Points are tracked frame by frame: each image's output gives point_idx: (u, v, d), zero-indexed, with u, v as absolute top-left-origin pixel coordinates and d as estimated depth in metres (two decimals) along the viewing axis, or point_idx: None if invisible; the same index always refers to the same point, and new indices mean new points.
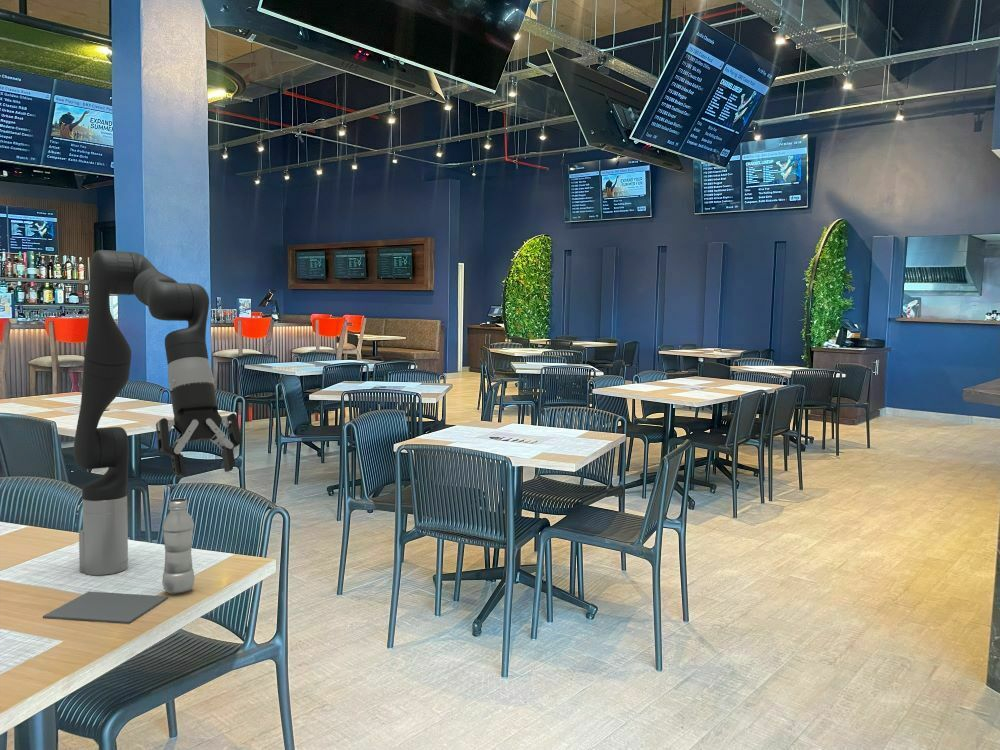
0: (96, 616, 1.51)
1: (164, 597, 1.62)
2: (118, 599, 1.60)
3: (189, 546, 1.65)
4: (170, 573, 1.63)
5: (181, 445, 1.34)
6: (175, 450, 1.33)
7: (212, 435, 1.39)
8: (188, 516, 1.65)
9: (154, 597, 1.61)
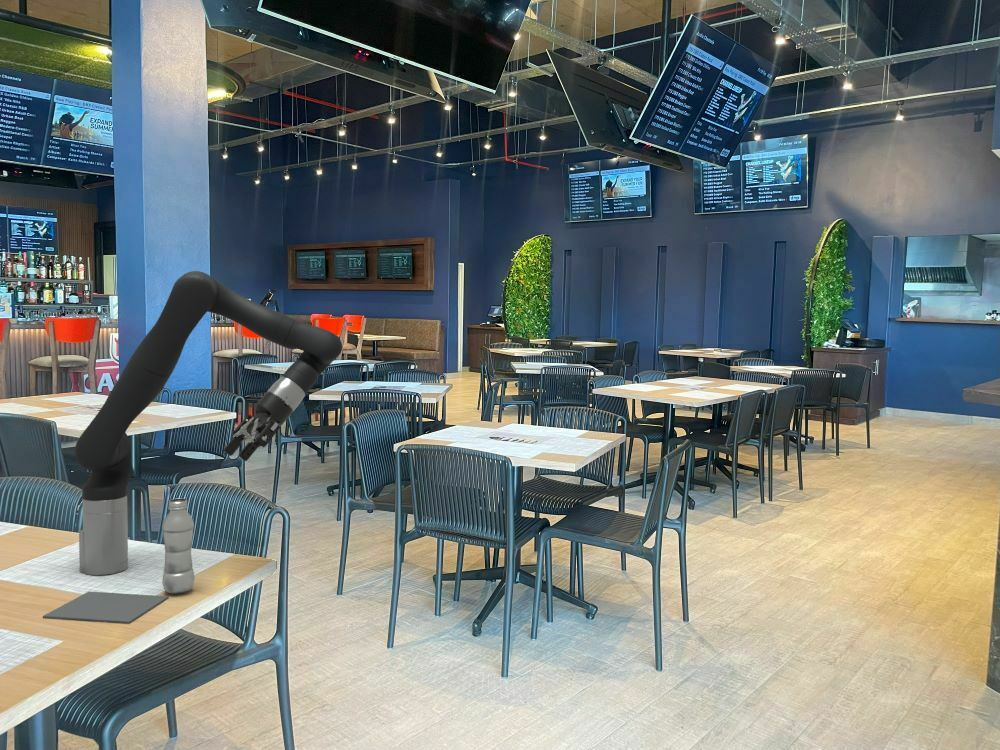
0: (96, 616, 1.51)
1: (164, 597, 1.62)
2: (118, 599, 1.60)
3: (189, 546, 1.65)
4: (170, 573, 1.63)
5: None
6: (260, 446, 1.71)
7: None
8: (188, 516, 1.65)
9: (154, 597, 1.61)
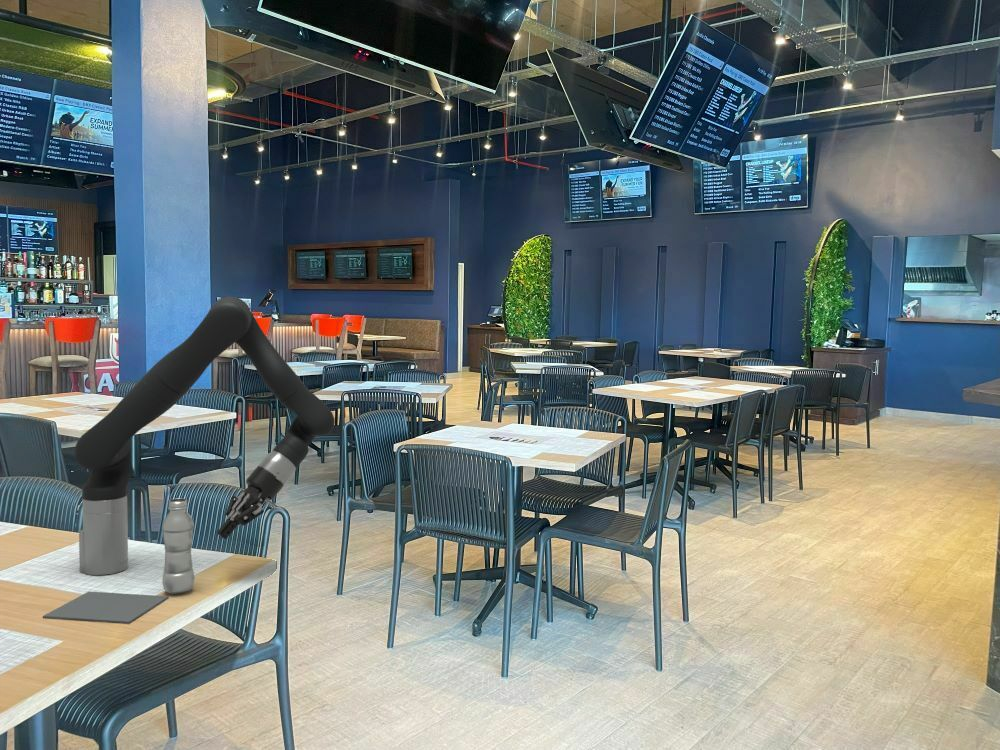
0: (96, 616, 1.51)
1: (164, 597, 1.62)
2: (118, 599, 1.60)
3: (189, 546, 1.65)
4: (170, 573, 1.63)
5: None
6: (240, 524, 1.74)
7: None
8: (188, 516, 1.65)
9: (154, 597, 1.61)
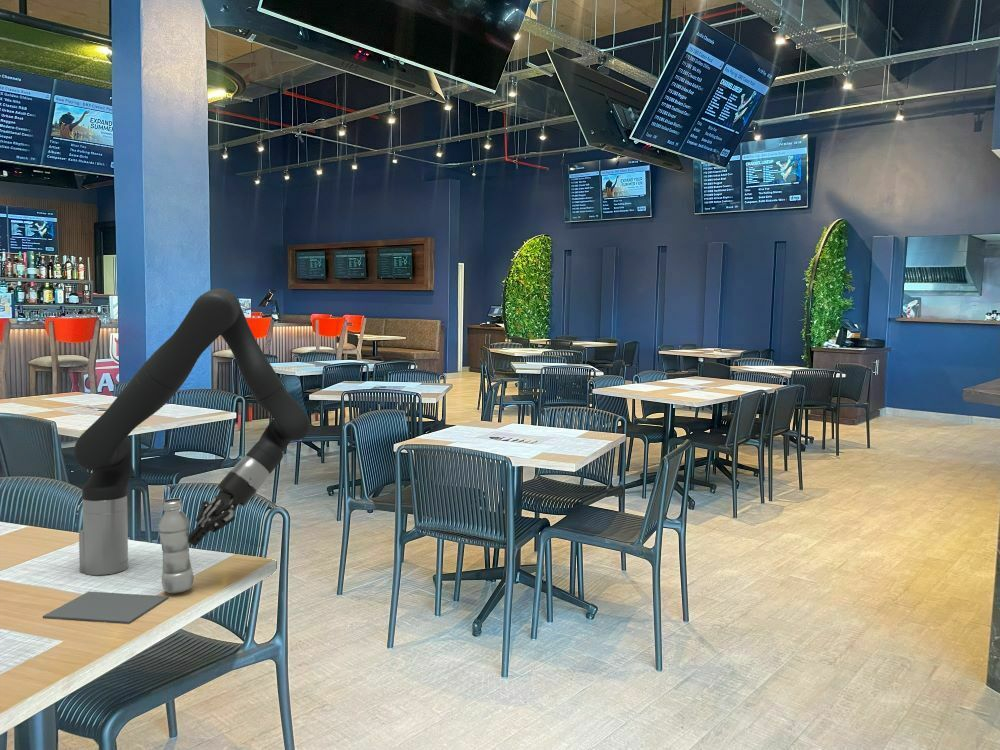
0: (96, 616, 1.51)
1: (164, 597, 1.62)
2: (118, 599, 1.60)
3: (186, 545, 1.65)
4: (168, 574, 1.63)
5: None
6: (211, 530, 1.69)
7: None
8: (183, 516, 1.64)
9: (154, 597, 1.61)
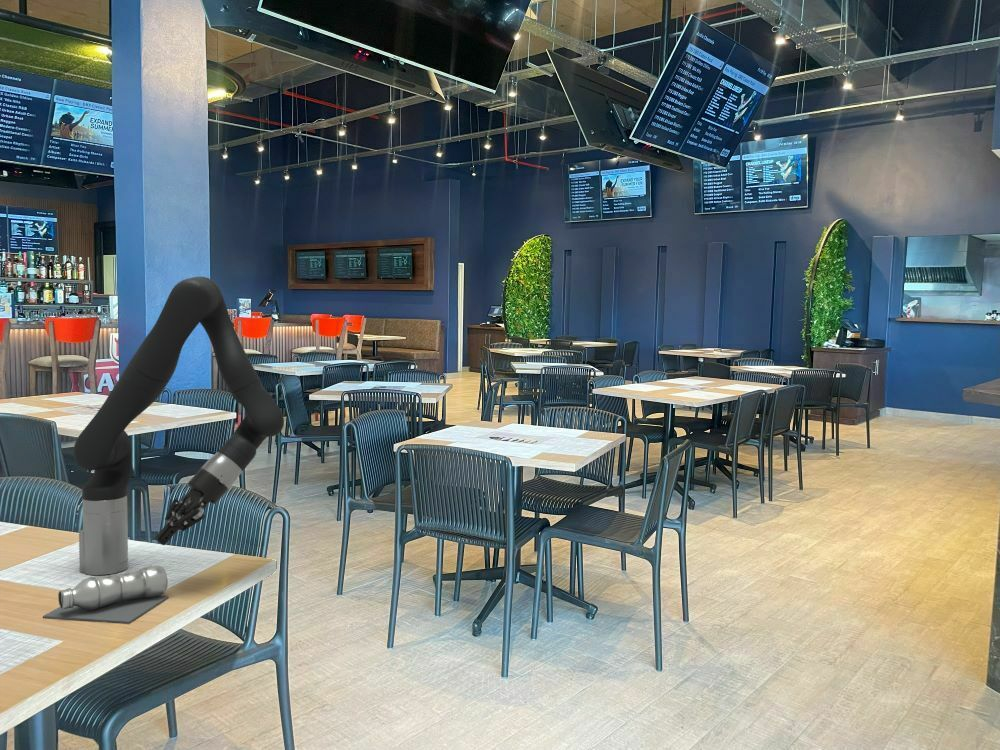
0: (96, 616, 1.51)
1: (164, 597, 1.62)
2: None
3: (118, 584, 1.56)
4: (144, 596, 1.60)
5: None
6: None
7: None
8: (82, 590, 1.52)
9: (154, 597, 1.61)
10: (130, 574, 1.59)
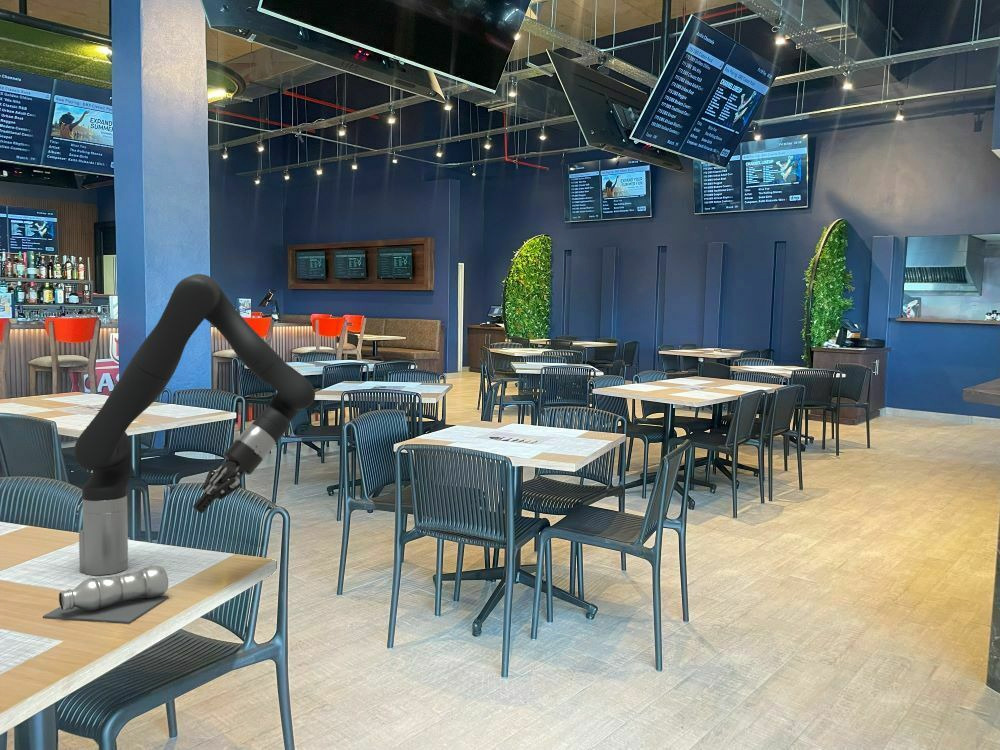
0: (96, 616, 1.51)
1: (164, 597, 1.62)
2: None
3: (119, 586, 1.55)
4: (144, 597, 1.60)
5: None
6: (217, 498, 1.70)
7: None
8: (83, 593, 1.51)
9: None
10: (131, 576, 1.58)
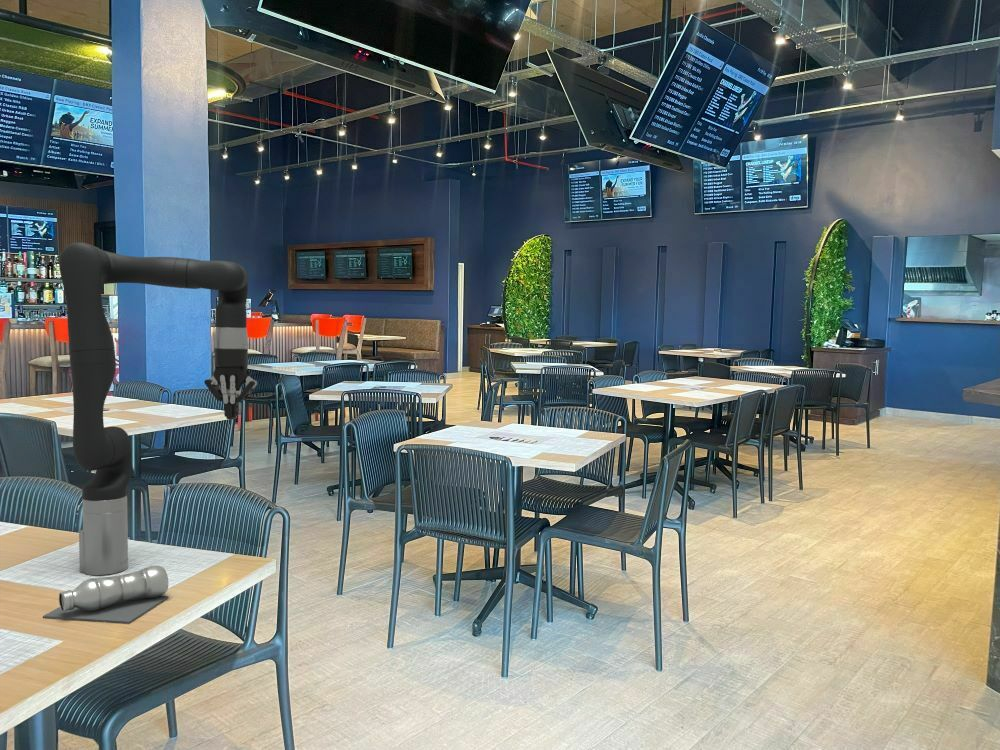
0: (96, 616, 1.51)
1: (164, 597, 1.62)
2: None
3: (119, 587, 1.55)
4: (144, 597, 1.60)
5: None
6: None
7: None
8: (83, 594, 1.51)
9: None
10: (131, 576, 1.58)
